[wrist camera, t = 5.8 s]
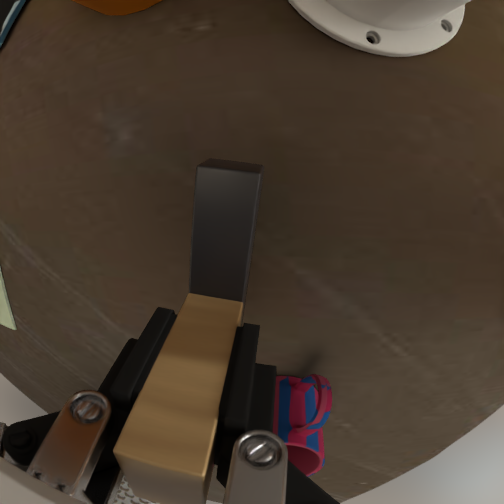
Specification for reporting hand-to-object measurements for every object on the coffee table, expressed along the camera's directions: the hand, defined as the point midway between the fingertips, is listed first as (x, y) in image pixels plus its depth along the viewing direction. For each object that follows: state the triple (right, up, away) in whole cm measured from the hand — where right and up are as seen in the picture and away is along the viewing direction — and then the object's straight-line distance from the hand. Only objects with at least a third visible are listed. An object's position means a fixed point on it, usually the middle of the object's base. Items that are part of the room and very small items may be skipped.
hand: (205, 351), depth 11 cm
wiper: (0, +1, +3) cm, 3 cm away
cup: (+5, -8, +15) cm, 18 cm away
